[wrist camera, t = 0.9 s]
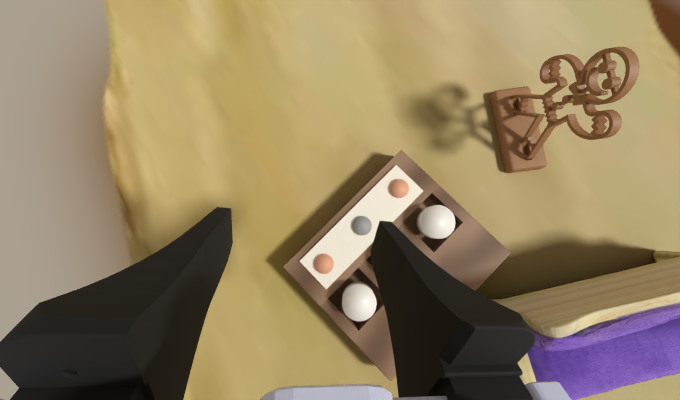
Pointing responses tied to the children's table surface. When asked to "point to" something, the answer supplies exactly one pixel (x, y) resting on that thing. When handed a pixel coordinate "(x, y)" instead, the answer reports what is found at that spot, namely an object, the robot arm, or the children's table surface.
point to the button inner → (358, 301)
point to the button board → (448, 253)
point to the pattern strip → (360, 226)
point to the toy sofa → (604, 329)
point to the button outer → (436, 222)
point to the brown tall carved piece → (559, 107)
